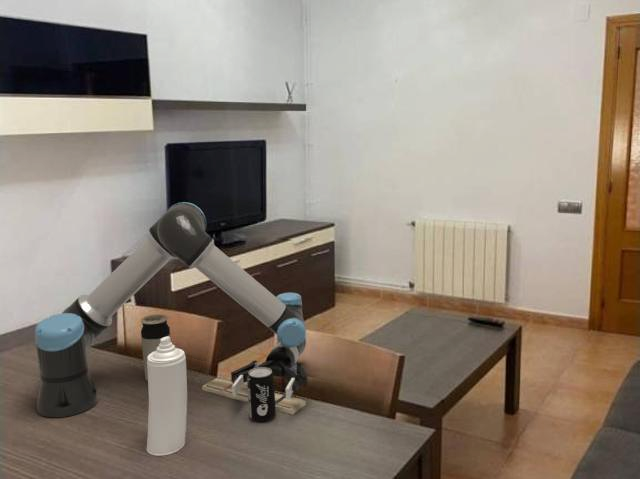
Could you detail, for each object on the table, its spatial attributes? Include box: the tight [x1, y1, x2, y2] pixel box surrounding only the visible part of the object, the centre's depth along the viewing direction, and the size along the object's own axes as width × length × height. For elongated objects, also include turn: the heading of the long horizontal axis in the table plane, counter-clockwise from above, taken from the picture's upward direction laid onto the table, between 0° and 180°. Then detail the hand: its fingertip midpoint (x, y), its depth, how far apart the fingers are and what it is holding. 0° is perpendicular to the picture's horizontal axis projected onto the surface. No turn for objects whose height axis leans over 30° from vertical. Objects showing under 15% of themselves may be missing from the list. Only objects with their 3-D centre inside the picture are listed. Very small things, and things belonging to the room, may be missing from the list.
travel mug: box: [140, 314, 172, 382], centre depth 178 cm, size 8×8×18 cm
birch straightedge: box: [201, 377, 307, 415], centre depth 165 cm, size 6×30×1 cm, turn 58°
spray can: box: [146, 336, 188, 457], centre depth 141 cm, size 12×11×25 cm
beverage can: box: [246, 367, 277, 423], centre depth 153 cm, size 7×7×12 cm
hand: (260, 392), depth 151 cm, fingers open, 13 cm apart
